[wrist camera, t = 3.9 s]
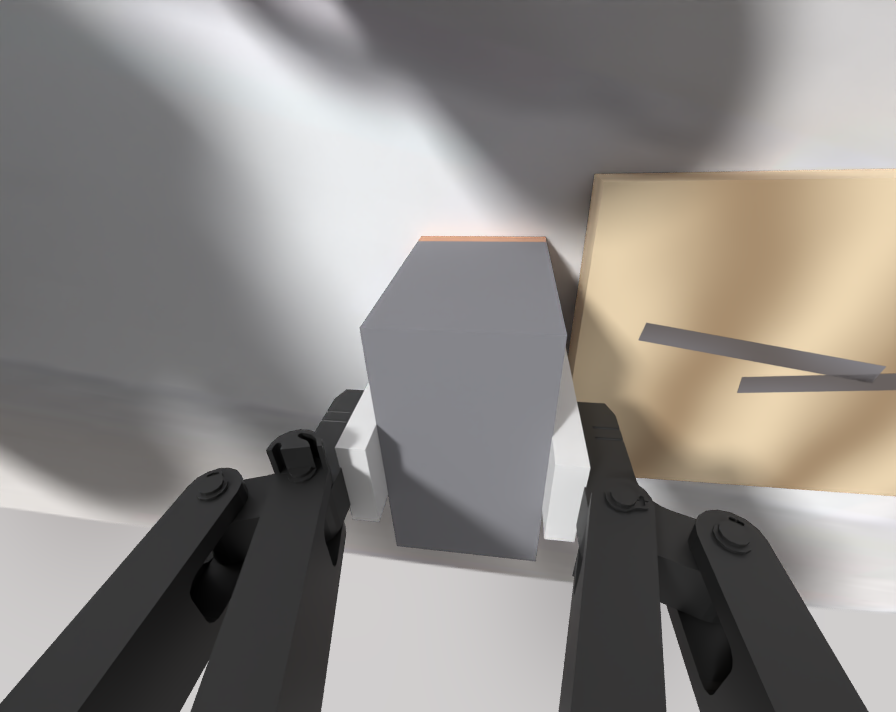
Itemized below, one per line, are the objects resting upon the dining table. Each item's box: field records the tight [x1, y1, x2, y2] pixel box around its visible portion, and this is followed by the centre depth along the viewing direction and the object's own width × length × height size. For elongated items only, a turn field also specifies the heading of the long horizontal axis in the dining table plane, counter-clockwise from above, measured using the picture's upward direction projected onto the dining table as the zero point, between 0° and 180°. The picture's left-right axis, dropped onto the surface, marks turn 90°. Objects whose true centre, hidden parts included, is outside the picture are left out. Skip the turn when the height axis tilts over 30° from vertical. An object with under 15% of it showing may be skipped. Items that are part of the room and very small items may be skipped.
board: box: [568, 169, 896, 496], centre depth 14 cm, size 20×12×2 cm, turn 92°
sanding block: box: [360, 236, 567, 561], centre depth 14 cm, size 4×8×7 cm, turn 2°
